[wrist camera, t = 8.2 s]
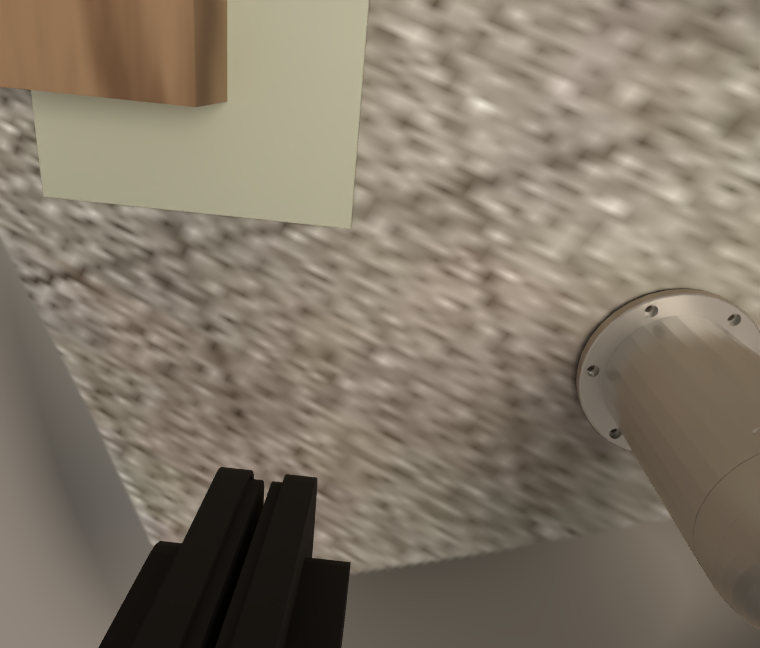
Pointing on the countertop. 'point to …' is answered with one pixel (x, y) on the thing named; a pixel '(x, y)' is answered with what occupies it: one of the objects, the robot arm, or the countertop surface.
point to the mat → (228, 126)
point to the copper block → (117, 49)
